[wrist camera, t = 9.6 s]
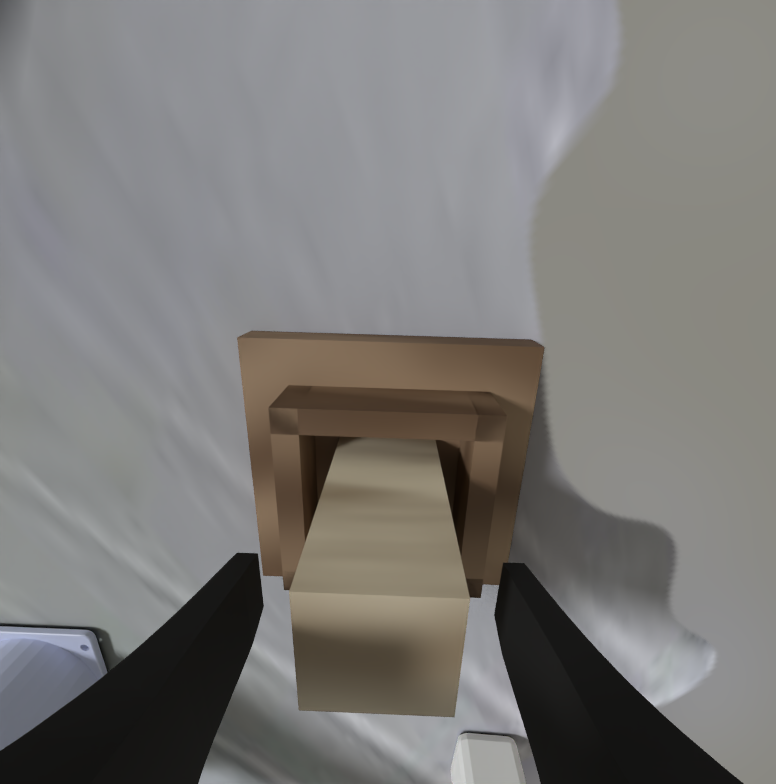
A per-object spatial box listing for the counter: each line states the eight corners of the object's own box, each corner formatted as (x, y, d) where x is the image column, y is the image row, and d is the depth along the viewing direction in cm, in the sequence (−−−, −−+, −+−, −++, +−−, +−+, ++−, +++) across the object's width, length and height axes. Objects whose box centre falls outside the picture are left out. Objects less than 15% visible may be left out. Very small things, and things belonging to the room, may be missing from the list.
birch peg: (428, 515, 17) (454, 717, 9) (342, 512, 17) (299, 710, 9) (434, 437, 16) (470, 599, 8) (340, 433, 16) (289, 591, 8)
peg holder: (496, 561, 20) (519, 632, 16) (272, 553, 20) (243, 621, 16) (531, 339, 16) (573, 363, 12) (251, 330, 16) (205, 352, 12)
